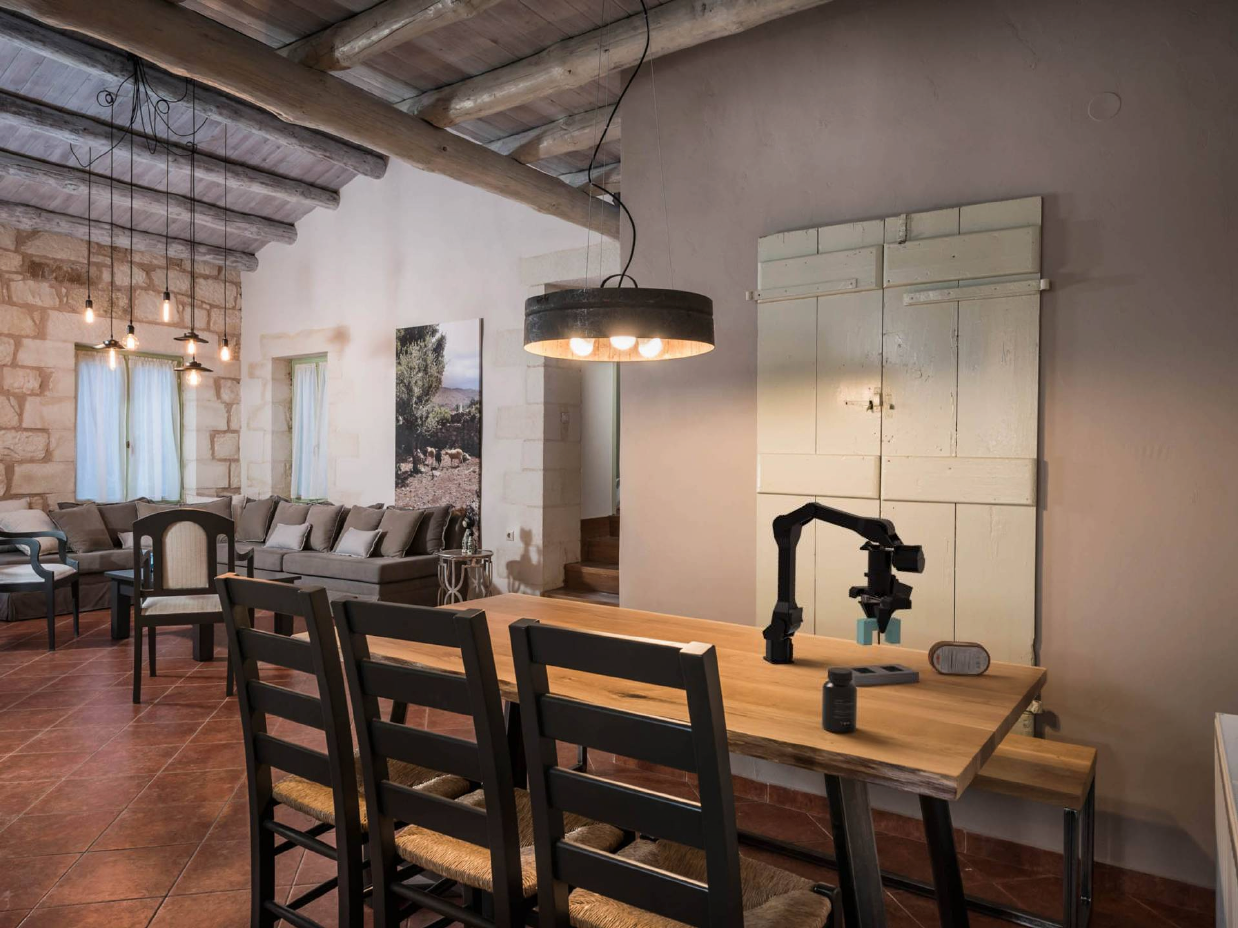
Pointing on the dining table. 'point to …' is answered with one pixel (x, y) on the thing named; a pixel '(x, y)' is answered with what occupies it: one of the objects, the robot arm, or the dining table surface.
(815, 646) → the dining table surface
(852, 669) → the plate with rectangular holes
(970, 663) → the tin
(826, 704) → the supplement bottle
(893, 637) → the teal u-shaped block
